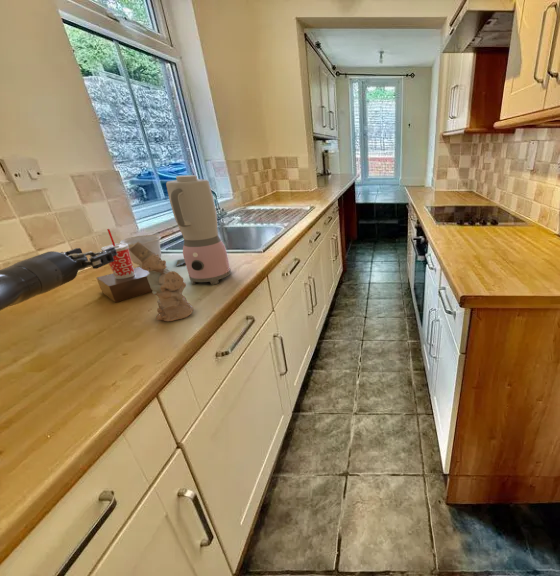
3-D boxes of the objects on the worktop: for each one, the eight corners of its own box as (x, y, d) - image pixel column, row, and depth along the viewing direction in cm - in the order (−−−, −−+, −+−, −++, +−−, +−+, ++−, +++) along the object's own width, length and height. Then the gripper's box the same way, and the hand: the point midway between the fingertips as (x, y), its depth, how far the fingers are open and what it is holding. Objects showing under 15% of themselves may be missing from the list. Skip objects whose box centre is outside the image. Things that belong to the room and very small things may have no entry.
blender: (202, 271, 110) (177, 174, 97) (237, 271, 111) (217, 174, 97) (176, 290, 96) (143, 179, 83) (217, 289, 96) (190, 179, 83)
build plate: (176, 266, 115) (172, 254, 113) (178, 261, 121) (174, 249, 119) (214, 261, 120) (211, 249, 118) (214, 255, 126) (211, 244, 124)
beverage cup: (113, 281, 90) (94, 233, 84) (111, 275, 94) (93, 229, 88) (139, 276, 93) (123, 229, 88) (136, 270, 97) (120, 225, 92)
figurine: (146, 322, 79) (118, 244, 71) (172, 306, 86) (149, 234, 78) (179, 324, 78) (154, 245, 69) (202, 308, 85) (182, 235, 77)
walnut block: (115, 302, 89) (109, 286, 87) (102, 293, 95) (96, 277, 93) (159, 289, 97) (154, 274, 95) (144, 281, 103) (139, 266, 101)
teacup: (117, 267, 115) (107, 240, 110) (165, 258, 124) (157, 233, 120) (120, 276, 106) (110, 248, 102) (171, 266, 116) (163, 239, 111)
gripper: (69, 256, 68) (120, 236, 83) (-2, 258, 67) (63, 238, 82) (83, 288, 71) (130, 263, 86) (15, 290, 70) (74, 265, 85)
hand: (97, 251), depth 84 cm, fingers open, 8 cm apart
